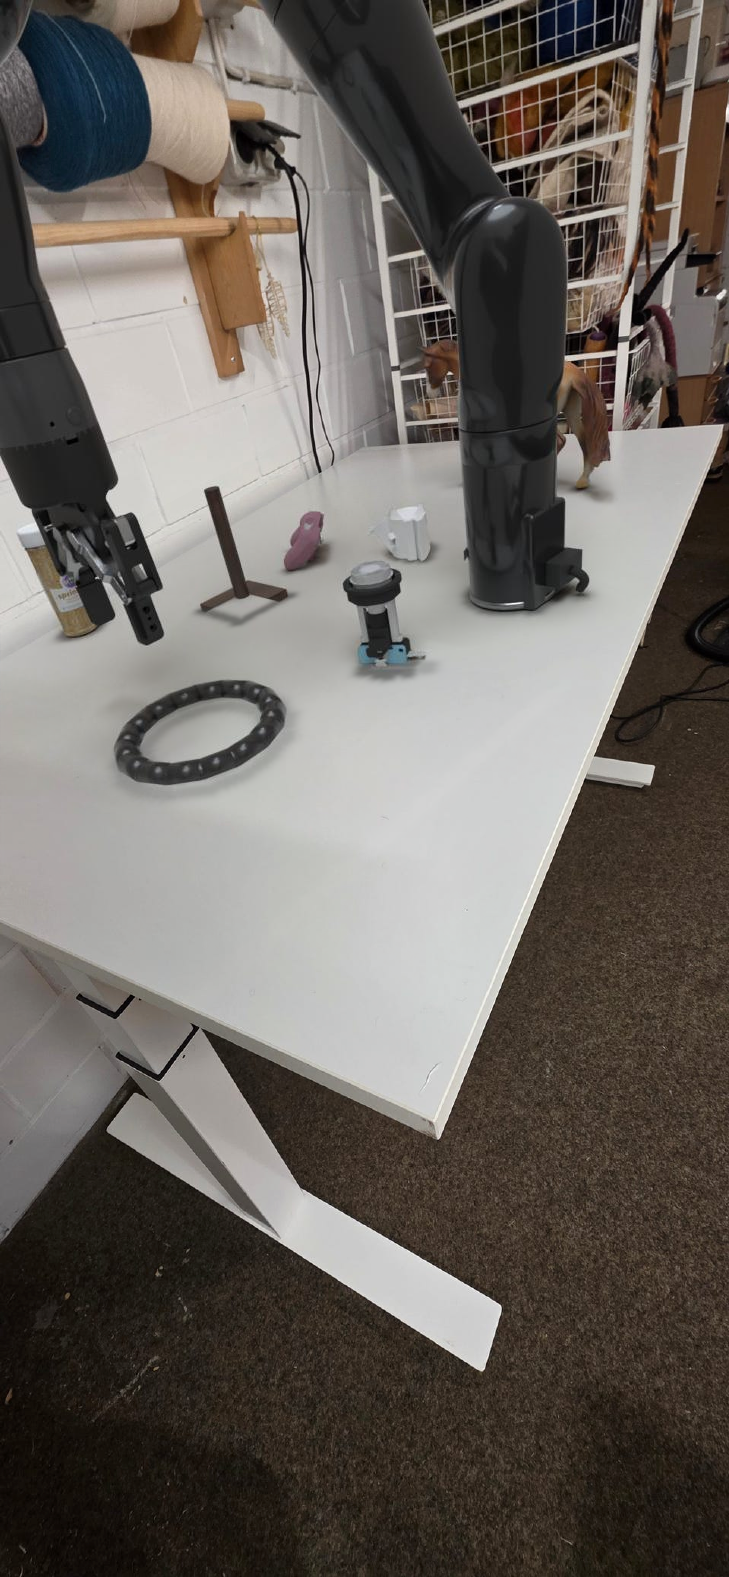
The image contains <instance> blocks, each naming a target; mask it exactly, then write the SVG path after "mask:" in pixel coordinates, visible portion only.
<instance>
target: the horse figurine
mask: <svg viewBox="0 0 729 1577" xmlns="http://www.w3.org/2000/svg"><path fill="white" fill-rule="evenodd" d="M417 349H418V350H419V351H421V352H422V353H423V354H424V355H423V365H424V369H425V377H426V378H425V379H426V390H425V392H426V396H427V397H429V398H430V399H431V400H433V399H437V398H438V397H439V395H440V388H441V387H442V386H443V383H444V381H445V378H446V377H447V376H448V374H449V373H451V374H452V375H453V376H454V378H455V380H456V381H457V383H458V384H459V359H458V343H457V340H454V339H448V338H447V339H446V338H445V339H442V340H440V339H439V340H437V341H436V342H434V343H433V344H432V345H430V346H429V347H428V346H423V345H421V346H418V347H417ZM604 398H605V397H604V395H603V392H602V390H601V389H600V388H599V385H598V384H597V382H596V381H594V380H593V379H592V378H591V377H590V376H589V375H588V374H587V373H586V372H585V371H584V370H582V369H580V368H579V367H578V366H577V365H575V364H574V363H572V362H570V361H568V360H566V359H565V362H564V372H563V378H562V382H561V385H560V388H559V393H558V412H557V414H558V415H559V414H560V413H562V414H563V416H564V417H565V419H566V422H567V425H568V428H569V429H570V431H571V432H572V434H573V435H574V436H575V437H576V440H577V442H578V444H579V447H580V449H581V452H582V457H583V470H582V474H581V475H580V477H579V479H578V481H577V482H576V485H575V488H577V489H583V488H585V487H589V485H590V483H591V478H590V476H591V474H592V473H593V472H594V470H595V468H599V467H600V465H601V464H602V463H603V462H607V461H608V462H610V461H611V460H612V455H611V449H610V446H611V440H610V438H609V436H610V435H609V428H608V406H607V402H606V400H605V399H604ZM566 443H567V439H566V436H565V435H564V434H563V433H562V432H561V431H560V429H559V428H557V456H558V455H559V454H560V452H561V451H562V450H563V449H564V447H565V446H566Z"/></svg>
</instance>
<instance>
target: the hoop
mask: <svg viewBox="0 0 729 1577" xmlns="http://www.w3.org/2000/svg"><path fill="white" fill-rule="evenodd" d="M222 698H223V699H224V698H225V699H238V700H239V699H241V700H244V701H245V702H248V703H251V704H252V705H253V704H254V705H255V706H256V708H257V709H258V710H259V712H260V717H259V721H258V723H257V724H256V725H255V726H254V727H253V728H252V730H250V732H249V733H248V734H246V735H245V736H244V737H242V738H240V739H238V741H236V742H234V743H233V744H231V745H230V746H228V747H227V748H224V749H222V750H221V749H220V750H218V751H216V752H213V753H211V754H207V755H205V756H202V757H200V758H195V759H188V760H182V761H176V762H166V761H157V760H151V759H149V758H147V757H146V756H144V755H143V753H142V751H141V750H142V749H141V744H142V742H143V740H144V737H145V735H146V733H147V732H148V731H149V730H151V728H152V727H154V725H155V724H157V722H159V721H161V719H164V718H165V717H167V716H168V715H170V714H172V713H174V712H175V711H177V710H179V709H182V708H185V707H188V706H190V705H193V704H195V703H198V702H203V701H208V700H215V699H222ZM286 714H287V707H286V705H285V703H284V702H283V700H282V699H281V698H280V696H279V695H278V694H277V692H276V691H275V690H274V689H273V688H271V687H269V686H266V685H263V684H261V683H258V682H255V681H252V680H244V679H219V680H213V681H207V682H201V683H195V684H192V685H190V686H187V687H184V688H181V689H178V690H175V691H172V692H169V693H167V694H165V695H164V696H162V697H159V698H158V699H157V700H155V701H153V702H150V703H149V704H148V705H146V706H144V707H143V708H141V709H140V710H139V711H138V712H137V713H136V714H135V715H133V717H132V718H130V719H129V720H128V721H127V722H126V723H125V724H124V725H123V726H122V729H121V730H120V733H119V734H118V737H117V738H116V741H115V743H114V745H113V753H114V758H115V762H116V767H117V769H118V771H119V772H121V773H122V774H124V775H126V776H127V777H129V778H131V779H132V780H133V781H135V782H137V783H142V784H152V785H159V786H160V785H161V786H172V785H180V784H185V783H193V782H199V781H205V780H207V779H210V778H212V777H215V776H218V775H220V774H223V773H226V772H228V771H231V770H233V769H237V768H238V767H240V766H242V765H243V764H245V763H247V762H248V761H250V760H251V759H253V758H254V757H256V756H257V755H258V754H260V753H261V752H263V751H264V750H266V749H267V748H268V747H269V746H270V745H271V744H272V743H273V742H274V740H275V739H276V738H277V736H278V735H279V734H280V733H281V732H282V730H283V729H284V727H285V722H286Z"/></svg>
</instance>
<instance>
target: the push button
mask: <svg viewBox="0 0 729 1577" xmlns="http://www.w3.org/2000/svg"><path fill="white" fill-rule="evenodd" d="M349 572H350V575H349V576H348V577H346V578H345V579H344V580H343V581H342V589H343V591H344V592H345V593H346V596H347V601H348V602H349V603H351V604H353V605H355V606H356V609H357V615H358V621H359V626H360V631H361V637H360V638H359V640H360V642H361V644H360V645H359V646H358V648H357V656H358V660H359V664H375V667H387V666H388V665H387V664H406V663H407V662H408V660H409V659H410V658H413V657H425V654H426V651H416V650H412V647H411V641H410V638H409V637H406V636H405V637H404V634H402V633H401V631H400V624H399V617H398V611H397V610H398V609H397V604H396V598H397V597H398V596H399V595H400V594H401V592H402V589H401V582H402V580H403V577H402V576H403V575H402V572H401V571H400V570H398V569H396V568H392V567H391V565H390V563H389V562H387V561H385V560H371V561H366V562H362V563H359V564H357V565H355V566H354V567H352V568H351V569H350V571H349Z"/></svg>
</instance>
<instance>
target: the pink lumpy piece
mask: <svg viewBox="0 0 729 1577" xmlns="http://www.w3.org/2000/svg"><path fill="white" fill-rule="evenodd" d="M324 518H325V513H322V512H321V511H317V510H314V511H313V510H312V511H311V510H310V509H309V510H308V512H306V513H304V514H303V515H302V516H301V517H300V519H299V526H298V527H297V528H296V529H295V530H294V531H293V533H292V535H291V537H290V539H289V543H290V547H291V548H289V550H288V551H287V552H286V554H285V555H284V558H283V565H284V567H285V568H286V569H287V570H288V571H294V570H296V569H299V568H301V567H302V566H303V565H305V564H306V563H307V562H308V561H310V562H313V560H314V557H315V553H316V550H317V549H319V547H320V548H321V547H322V546H323V545H324V542H325V539H324V537H322V535H321V533H322V531H323V528H324Z"/></svg>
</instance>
